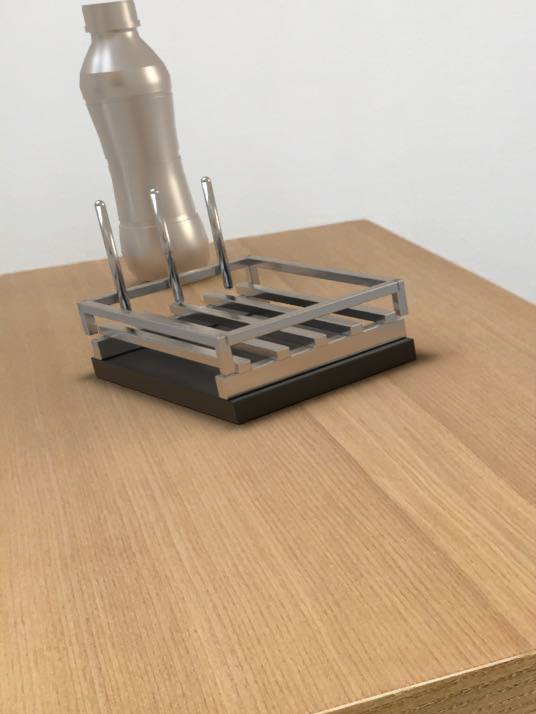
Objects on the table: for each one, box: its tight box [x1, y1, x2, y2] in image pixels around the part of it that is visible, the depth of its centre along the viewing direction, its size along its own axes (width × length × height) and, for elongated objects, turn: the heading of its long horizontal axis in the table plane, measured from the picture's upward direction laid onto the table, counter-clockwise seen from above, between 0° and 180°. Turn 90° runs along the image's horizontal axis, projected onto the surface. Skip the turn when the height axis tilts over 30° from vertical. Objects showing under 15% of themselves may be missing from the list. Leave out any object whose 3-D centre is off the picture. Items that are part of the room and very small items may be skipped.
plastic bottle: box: [78, 0, 211, 282], centre depth 92 cm, size 6×7×20 cm
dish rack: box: [76, 176, 417, 425], centre depth 70 cm, size 16×12×10 cm
